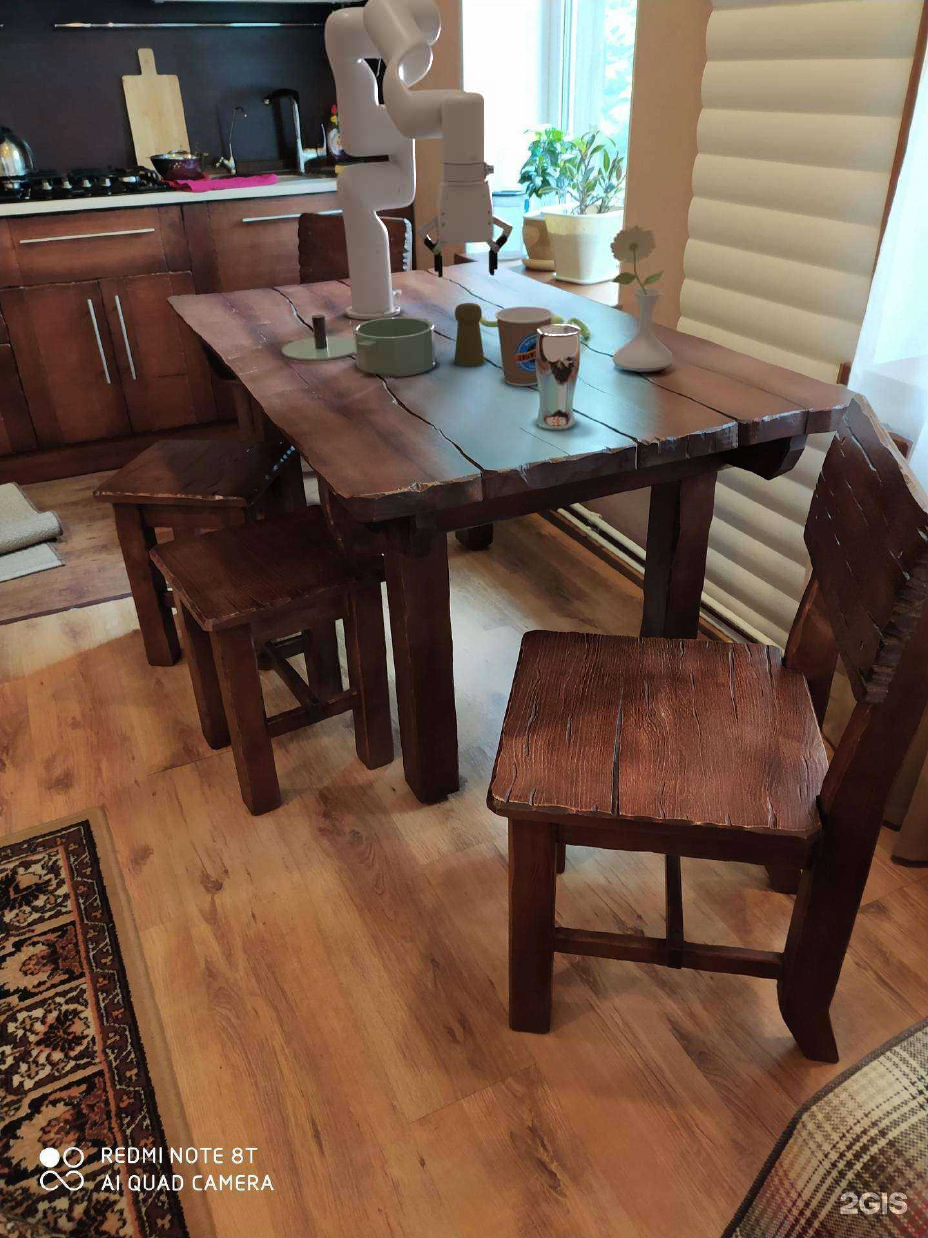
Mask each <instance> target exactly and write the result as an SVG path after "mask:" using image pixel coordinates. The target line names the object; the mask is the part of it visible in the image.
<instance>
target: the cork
mask: <svg viewBox="0 0 928 1238" xmlns="http://www.w3.org/2000/svg"><path fill="white" fill-rule="evenodd" d="M482 316H483V310H482V307H481V305H479V304H478V303H475V302H474V303H473V302H464V303H459V304H458V305H457V306H456V307H455V309H454V318H455V321H456V322H457V328H456V341H455V349H454V350H455V352H454V361H453V363H454V364H455V365H457V366H459V367H478V366H482V365H484V364H485V363H486V359H485V352H484V346H483V339H482V332H481V331H482V330H481V325H480V324H481V323H480V322H479V321H480V320H481V317H482Z"/></svg>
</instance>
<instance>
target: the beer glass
mask: <svg viewBox="0 0 928 1238" xmlns="http://www.w3.org/2000/svg"><path fill="white" fill-rule="evenodd" d="M580 335H581V334H580V328H579V327H578V326H576V325H573V324H572V325H567V324H564V323H563V324H554V325H546V326H542V327H540V328H538V329H537V339H536V350H535V367H536V376H537V382H538V384H537V388H538V395H539V408H538V412H537V413H538V414H537V418H536V424H537V425H538V427H539V428H541V429H544V430H549V431H562V430H563V431H564V430H567V429H571V428H572V427H573V426H574V425H575V423H576V422H575V421H576V420H575V415H574V414H575V413H574V395H575V389H576V387H577V383H578V382H577V381H578V376H579V370H580V361H581V336H580Z"/></svg>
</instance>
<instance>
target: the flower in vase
mask: <svg viewBox="0 0 928 1238" xmlns="http://www.w3.org/2000/svg"><path fill="white" fill-rule="evenodd" d="M609 248H610V249H611V253H612V254H613V255H612V256H613V258H614V260H617V261H618V262H622V261H623V263H624V264H633V273H630V272H627V271H625V272H624V271H623V272H621V273H619V274H617V275H616V276H615V277H614V278H613V279H612V281H611V283H616V284H620V285H625V286H626V285H630V284H631V283H632V282H634V280H635V279H636V280H637V282H638V284H639V285H640V287H641V289H637V290H635V291H633V294H634V296H635V297H636V300H637V301H638V302H637V303H638V307H639V308H638V309H639V324H638V330H637V332H636V334H635V335H634V336H633V337H632V338H630V339H629V340H628V341H626V342H625V343H624V344H622V345H621V346H620V347H619V348H618V349H617V350H616V351H615V352H614V353H613V355H612V358H611V360H612V362H613V364H614V365H615V366H617V367H619V368H621V369H623V370H625V371H631V372H637V373H639V372H640V373H648V372H657V371H661V370H663V369H666V368H669V367H670V366H671V365H672V364H673V363H674V361H675V360H674V359H675V358H674V355H673V354H672V352H671V351H670V350H669V349H668V348H667V347H666V345H664V344H663V343H662V342H661V341H659V339H658V338H657V337H656V336H655V335H654V333H653V328H652V325H653V315H654V311H655V306H656V304H657V301H658V300H659V298H660V297H661V295H662V294H663V291H662V290H659V289H653V288H645V287H644V286H647V285H653V284H655V283H656V282H657V281H659V280H660V279H661V277H662V276H663V274H664V270H661V271H659V272H657V273H654V274H650V275H648V276H647V277H646V278H645V279H644V281H643V283H642V282H641V280H640V278H639V276H638V274H637V267H636V262H641V261H642V260H645V259H648V258H649V257H650V254H651V253H652V252H653V250H654V249H655V248H656V238H654V233H653V230H652V229H646V227H645V225H641V226H639V225H638V224H635V225H634V226H631V225H630V226H629V225H628V226H626V227H625V229H621V230H619V232H618V233H616V236H614V238H613V242H610V245H609Z"/></svg>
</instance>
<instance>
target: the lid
mask: <svg viewBox="0 0 928 1238" xmlns="http://www.w3.org/2000/svg"><path fill="white" fill-rule="evenodd" d="M311 322H312V323H311V324H312V331H313V337H309V338H303V339H302V338H301V339H298V340H295V341H291V342H289V343H288V344H285V345H284V346H283V347H282V348H281V354H282V356H284V357H285V358H288V359H291V360H296V361H302V362H319V361H320V362H323V361H331V360H333V361H334V360H338V359H343V358H347V357H350V356H353V355H355V346H354V338H350V337H346V336H345V337H343V336H328V334H327V333H328V332H327V325H326V324H327V323H326V317H325V315H324V314H314V315H312V316H311Z"/></svg>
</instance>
